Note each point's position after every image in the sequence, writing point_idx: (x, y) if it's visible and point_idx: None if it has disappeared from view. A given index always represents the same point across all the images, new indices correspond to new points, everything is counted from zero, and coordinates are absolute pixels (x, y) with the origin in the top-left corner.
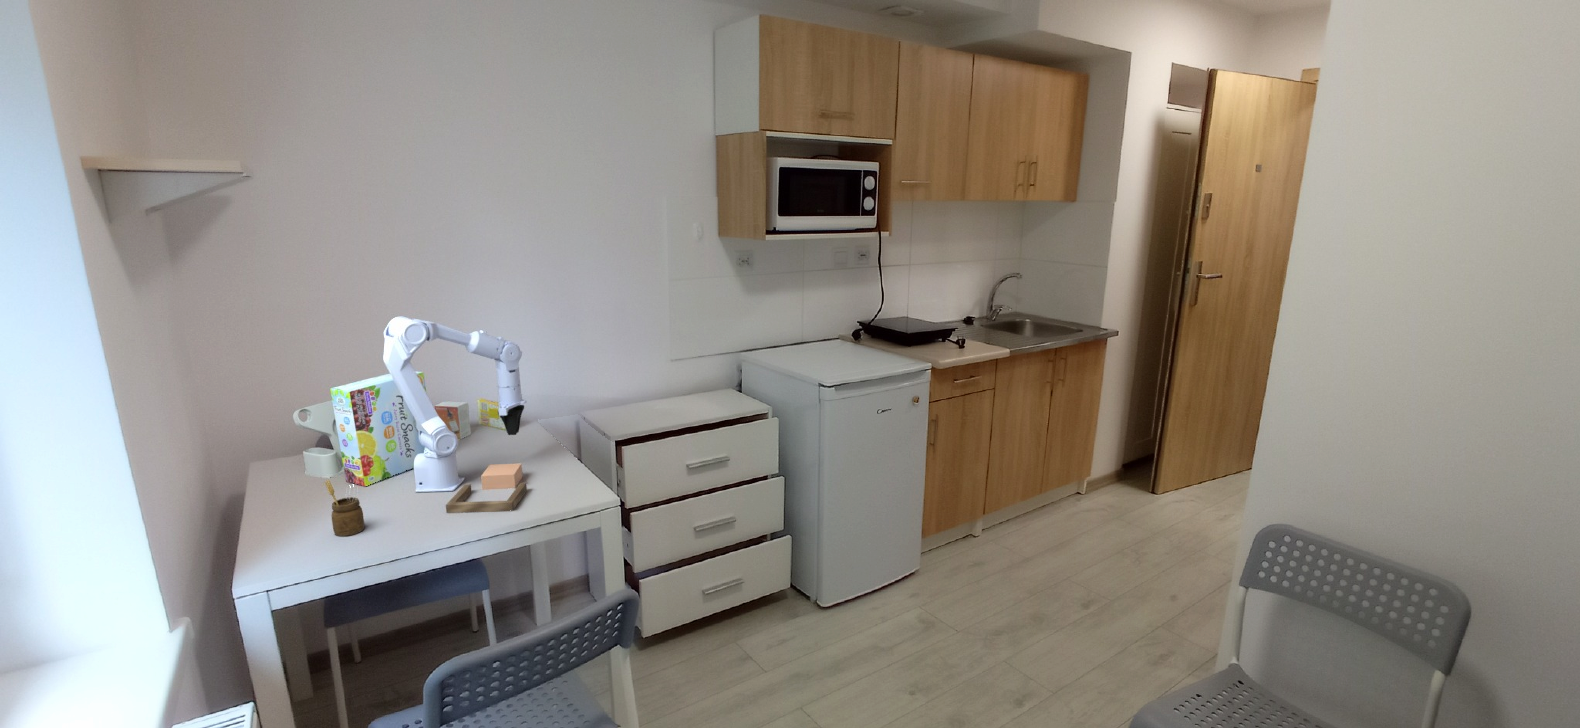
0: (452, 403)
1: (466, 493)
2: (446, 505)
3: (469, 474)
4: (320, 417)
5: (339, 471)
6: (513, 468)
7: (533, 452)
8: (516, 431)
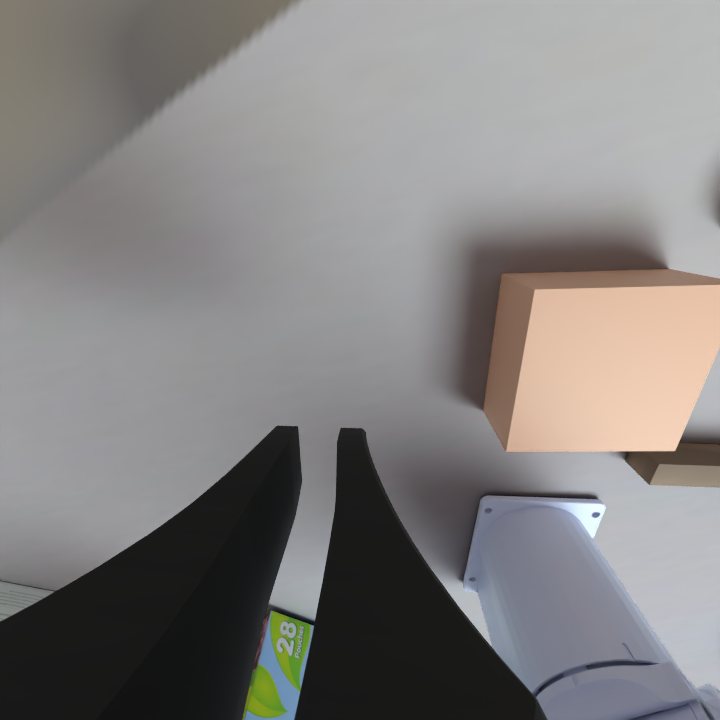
0: None
1: (707, 454)
2: None
3: (420, 492)
4: None
5: None
6: (621, 315)
7: (137, 306)
8: (362, 443)
